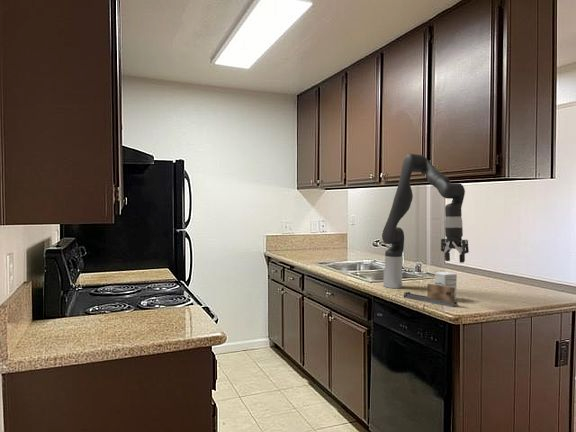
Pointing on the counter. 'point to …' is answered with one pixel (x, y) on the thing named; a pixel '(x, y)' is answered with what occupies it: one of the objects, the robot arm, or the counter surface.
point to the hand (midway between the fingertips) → (454, 261)
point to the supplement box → (446, 280)
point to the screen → (440, 292)
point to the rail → (429, 299)
